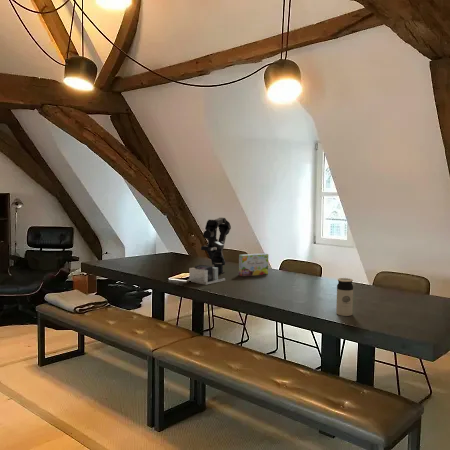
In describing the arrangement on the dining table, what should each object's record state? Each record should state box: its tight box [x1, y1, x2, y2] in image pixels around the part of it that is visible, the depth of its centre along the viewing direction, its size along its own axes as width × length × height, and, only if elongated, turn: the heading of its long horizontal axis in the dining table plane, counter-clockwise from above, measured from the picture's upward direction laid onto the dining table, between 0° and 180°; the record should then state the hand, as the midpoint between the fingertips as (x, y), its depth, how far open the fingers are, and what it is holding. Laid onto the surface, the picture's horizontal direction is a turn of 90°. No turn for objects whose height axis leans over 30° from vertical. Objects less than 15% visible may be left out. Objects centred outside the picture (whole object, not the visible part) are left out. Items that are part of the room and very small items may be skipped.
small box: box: [194, 264, 214, 282], centre depth 333 cm, size 11×6×10 cm, turn 53°
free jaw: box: [212, 266, 219, 281], centre depth 337 cm, size 3×13×9 cm, turn 49°
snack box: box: [238, 252, 269, 277], centre depth 357 cm, size 21×6×15 cm, turn 114°
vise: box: [187, 267, 226, 285], centre depth 335 cm, size 19×17×9 cm
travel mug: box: [336, 277, 354, 317], centre depth 253 cm, size 8×8×18 cm
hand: (211, 259), depth 352 cm, fingers closed
